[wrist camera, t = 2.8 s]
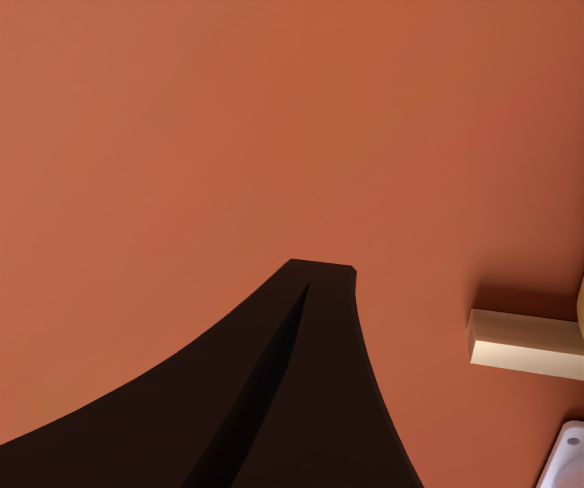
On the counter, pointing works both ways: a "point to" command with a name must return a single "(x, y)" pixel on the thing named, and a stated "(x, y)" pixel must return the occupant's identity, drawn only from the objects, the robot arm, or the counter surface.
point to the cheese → (581, 308)
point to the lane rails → (526, 343)
